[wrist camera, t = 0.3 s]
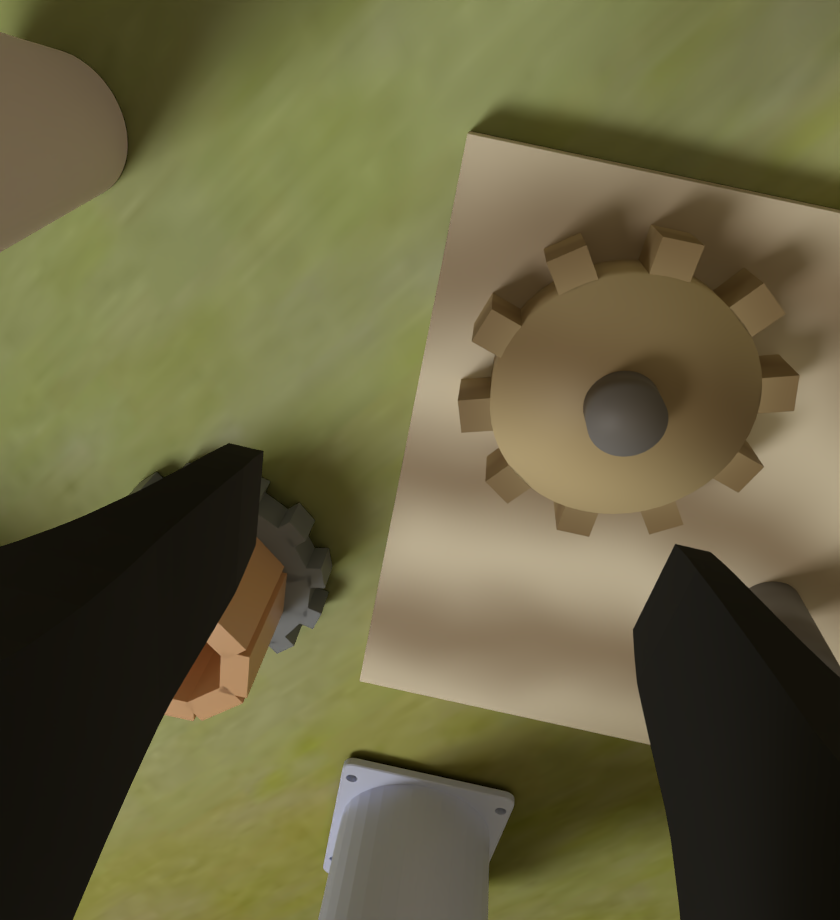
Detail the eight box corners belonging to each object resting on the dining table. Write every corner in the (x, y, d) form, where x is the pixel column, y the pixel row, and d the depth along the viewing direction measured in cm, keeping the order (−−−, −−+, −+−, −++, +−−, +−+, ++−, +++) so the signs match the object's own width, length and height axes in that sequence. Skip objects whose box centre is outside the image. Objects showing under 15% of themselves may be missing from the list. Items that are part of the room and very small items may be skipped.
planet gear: (319, 654, 27) (283, 766, 23) (125, 611, 27) (50, 715, 23) (343, 491, 23) (304, 590, 19) (114, 441, 23) (19, 528, 19)
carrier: (839, 766, 27) (895, 880, 23) (364, 661, 27) (340, 758, 23) (1233, 293, 17) (1451, 357, 13) (469, 130, 17) (458, 145, 13)
